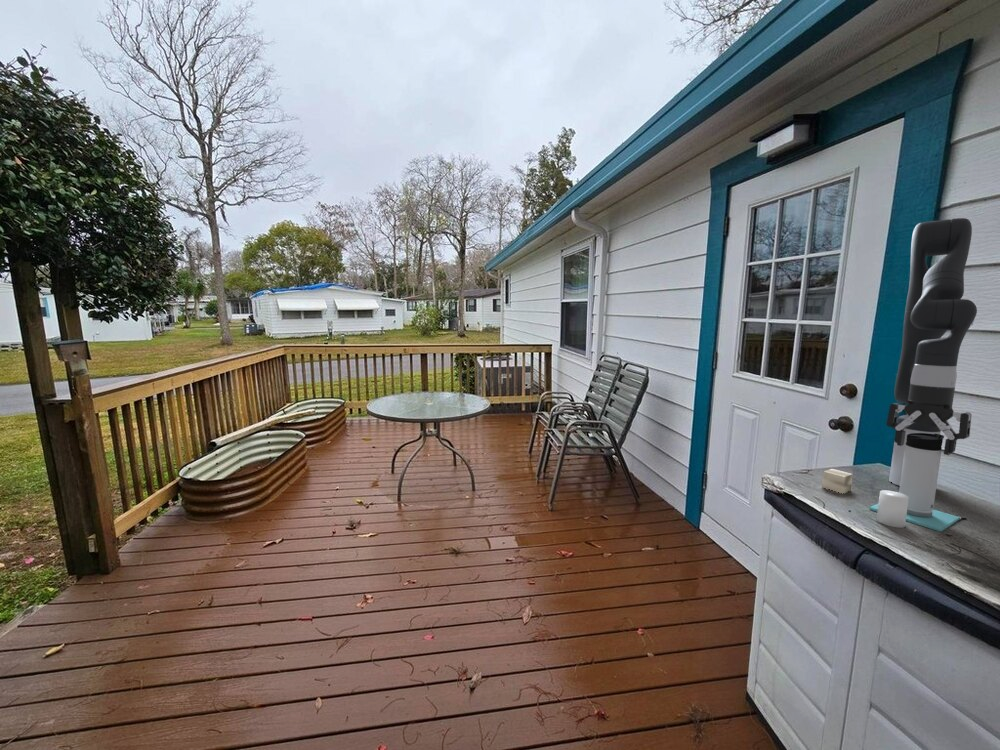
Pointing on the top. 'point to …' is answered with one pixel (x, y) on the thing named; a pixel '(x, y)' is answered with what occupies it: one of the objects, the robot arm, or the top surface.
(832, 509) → the top surface
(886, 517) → the white plastic capsule
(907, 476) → the travel mug
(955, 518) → the teal mat
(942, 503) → the top surface
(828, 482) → the birch block
